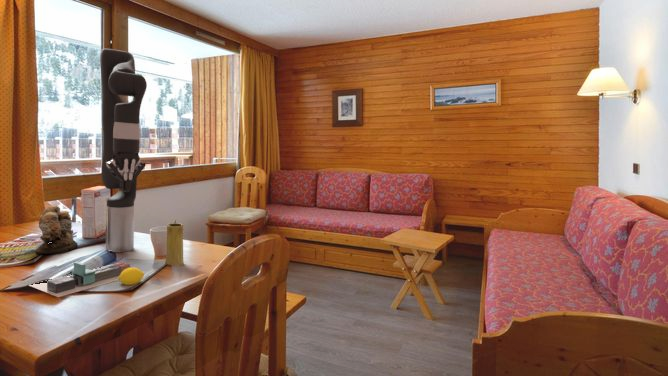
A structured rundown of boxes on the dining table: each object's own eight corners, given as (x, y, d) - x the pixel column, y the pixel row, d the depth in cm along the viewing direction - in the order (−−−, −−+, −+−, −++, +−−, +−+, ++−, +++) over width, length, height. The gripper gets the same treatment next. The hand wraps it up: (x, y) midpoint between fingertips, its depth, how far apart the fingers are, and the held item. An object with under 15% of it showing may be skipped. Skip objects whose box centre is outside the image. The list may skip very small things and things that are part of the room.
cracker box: (97, 231, 182) (97, 185, 179) (111, 231, 182) (111, 186, 180) (80, 238, 168) (80, 189, 165) (95, 238, 168) (95, 189, 166)
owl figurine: (63, 256, 143) (62, 209, 141) (26, 256, 140) (24, 209, 138) (83, 243, 160) (83, 201, 158) (50, 243, 158) (49, 201, 156)
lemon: (118, 290, 116) (115, 272, 116) (122, 283, 122) (119, 266, 121) (144, 286, 118) (141, 268, 118) (146, 279, 123) (144, 263, 123)
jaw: (73, 284, 115) (73, 276, 115) (70, 283, 116) (69, 274, 116) (124, 270, 129) (125, 263, 129) (121, 269, 130) (121, 262, 130)
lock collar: (83, 285, 114) (83, 265, 114) (72, 280, 117) (71, 261, 116) (95, 282, 117) (94, 262, 117) (83, 277, 120) (83, 259, 119)
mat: (28, 287, 113) (28, 285, 113) (112, 265, 135) (112, 264, 135) (58, 299, 106) (58, 297, 106) (141, 274, 129) (141, 273, 128)
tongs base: (56, 293, 109) (56, 283, 108) (47, 290, 111) (47, 280, 110) (130, 272, 128) (130, 264, 128) (121, 270, 130) (121, 261, 130)
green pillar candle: (177, 267, 138) (177, 227, 136) (161, 265, 139) (161, 225, 137) (187, 262, 144) (187, 224, 142) (171, 260, 145) (172, 222, 143)
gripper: (113, 137, 119) (112, 194, 121) (152, 139, 130) (151, 191, 132) (98, 135, 122) (98, 191, 124) (138, 137, 134) (136, 188, 136)
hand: (125, 191), depth 128 cm, fingers closed
